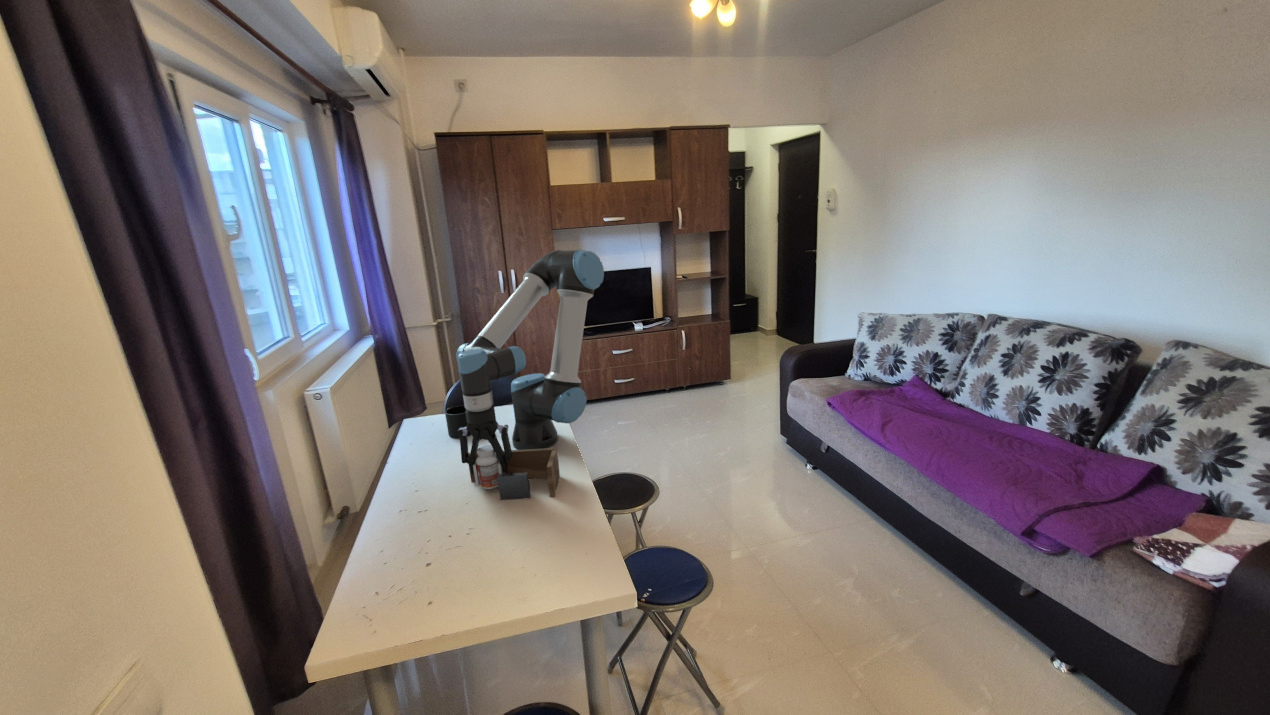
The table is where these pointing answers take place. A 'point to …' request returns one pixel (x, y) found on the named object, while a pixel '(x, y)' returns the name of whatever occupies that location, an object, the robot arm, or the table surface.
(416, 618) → the table surface
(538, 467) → the wooden corner wall
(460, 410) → the mug
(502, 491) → the dark rectangular block
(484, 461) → the pill bottle
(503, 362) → the robot arm
